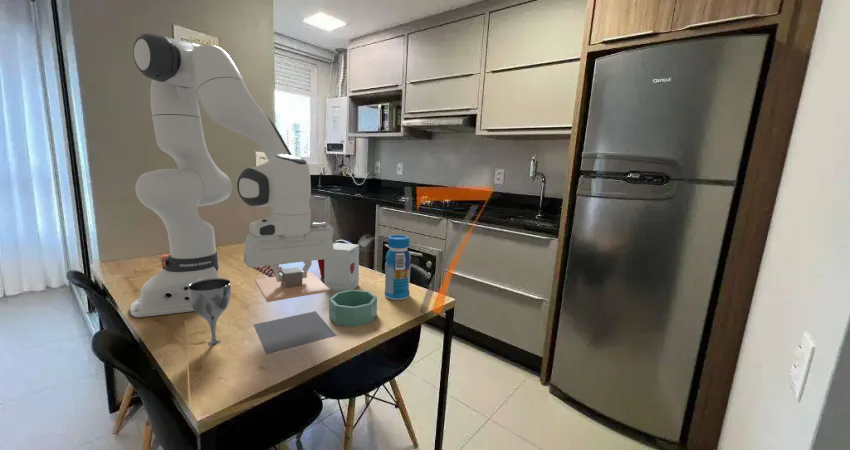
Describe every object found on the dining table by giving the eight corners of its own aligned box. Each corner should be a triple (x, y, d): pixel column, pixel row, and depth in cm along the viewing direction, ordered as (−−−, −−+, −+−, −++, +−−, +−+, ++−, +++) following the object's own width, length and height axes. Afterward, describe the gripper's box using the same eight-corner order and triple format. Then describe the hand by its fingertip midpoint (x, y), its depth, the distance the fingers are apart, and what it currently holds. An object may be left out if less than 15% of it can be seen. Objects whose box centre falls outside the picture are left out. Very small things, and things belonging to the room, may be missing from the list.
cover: (267, 302, 74) (266, 284, 74) (255, 281, 85) (254, 266, 85) (329, 291, 82) (329, 275, 82) (311, 273, 93) (311, 259, 93)
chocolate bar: (273, 280, 123) (273, 275, 123) (251, 267, 136) (251, 263, 135) (292, 275, 128) (292, 270, 128) (269, 264, 141) (269, 259, 140)
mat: (266, 357, 75) (266, 354, 75) (253, 327, 88) (253, 324, 88) (336, 338, 84) (336, 335, 84) (315, 313, 97) (315, 311, 97)
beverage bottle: (379, 297, 111) (380, 237, 107) (392, 289, 118) (394, 233, 114) (401, 303, 107) (404, 241, 103) (414, 294, 115) (416, 236, 111)
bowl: (341, 332, 87) (341, 311, 86) (324, 314, 97) (324, 294, 95) (382, 322, 94) (383, 301, 93) (363, 306, 103) (363, 287, 102)
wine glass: (205, 337, 82) (201, 277, 79) (240, 337, 83) (236, 278, 80) (185, 355, 74) (179, 290, 72) (223, 355, 75) (219, 290, 72)
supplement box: (348, 294, 112) (349, 250, 109) (323, 291, 113) (323, 248, 111) (359, 285, 121) (359, 244, 118) (335, 282, 122) (335, 242, 120)
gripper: (329, 219, 90) (328, 270, 92) (241, 224, 78) (243, 281, 80) (338, 224, 85) (337, 277, 87) (246, 229, 73) (248, 290, 75)
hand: (291, 279), depth 84 cm, fingers closed on cover, 4 cm apart
